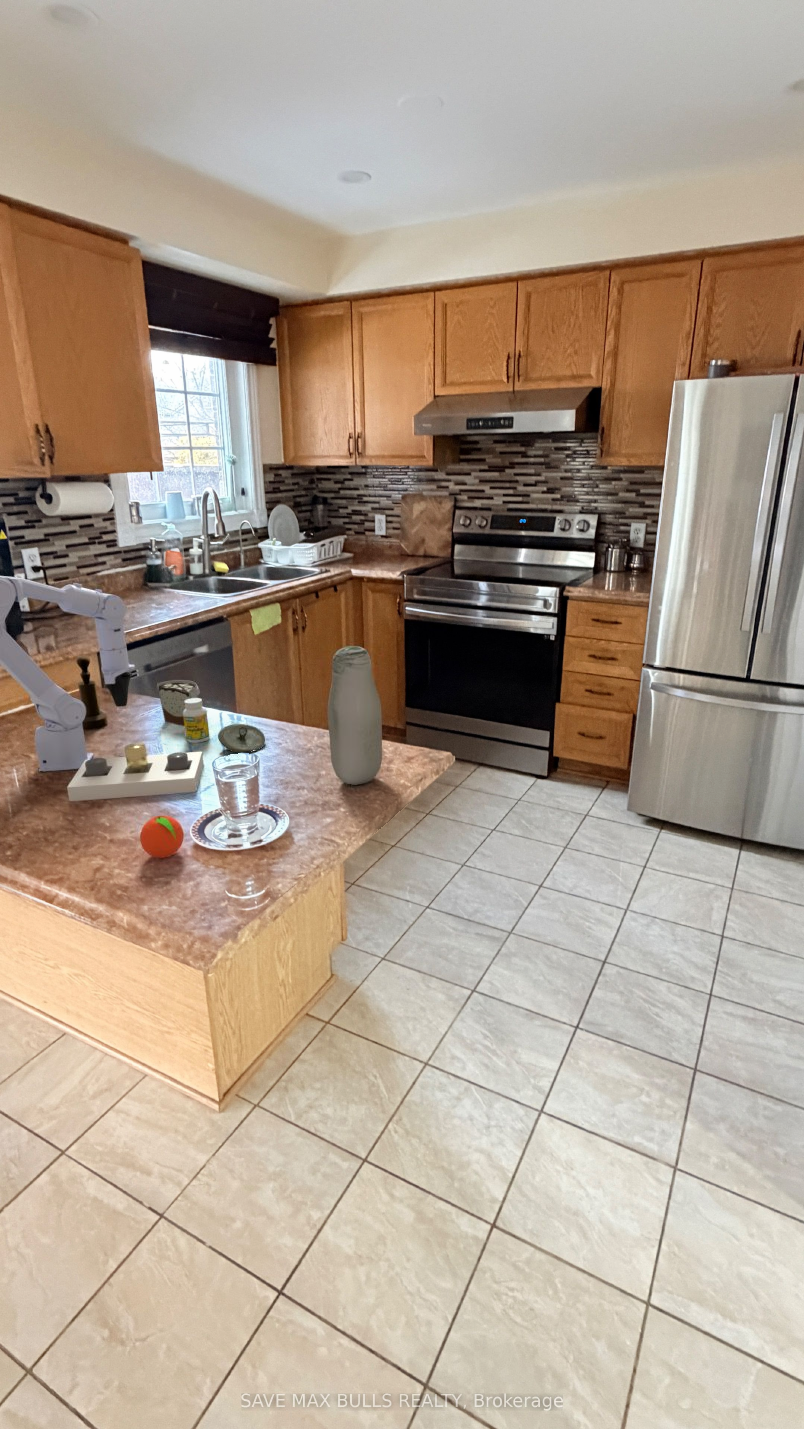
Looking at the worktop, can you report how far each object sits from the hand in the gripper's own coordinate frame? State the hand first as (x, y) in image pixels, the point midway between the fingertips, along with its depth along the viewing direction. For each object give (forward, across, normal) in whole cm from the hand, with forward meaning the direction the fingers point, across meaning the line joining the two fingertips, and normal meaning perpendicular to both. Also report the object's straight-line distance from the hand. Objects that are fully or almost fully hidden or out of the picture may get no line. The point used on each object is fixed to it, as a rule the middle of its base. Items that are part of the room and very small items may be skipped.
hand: (121, 705), depth 172 cm
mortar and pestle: (+10, +15, +11) cm, 21 cm away
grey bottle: (+10, -31, -51) cm, 60 cm away
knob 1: (+9, -23, +1) cm, 25 cm away
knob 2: (+9, -23, -15) cm, 29 cm away
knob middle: (+7, -23, -7) cm, 25 cm away
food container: (+10, +13, -12) cm, 20 cm away
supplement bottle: (+10, 0, -16) cm, 19 cm away
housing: (+9, -23, -7) cm, 26 cm away
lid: (+10, -7, -27) cm, 29 cm away
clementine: (+10, -55, -17) cm, 58 cm away
